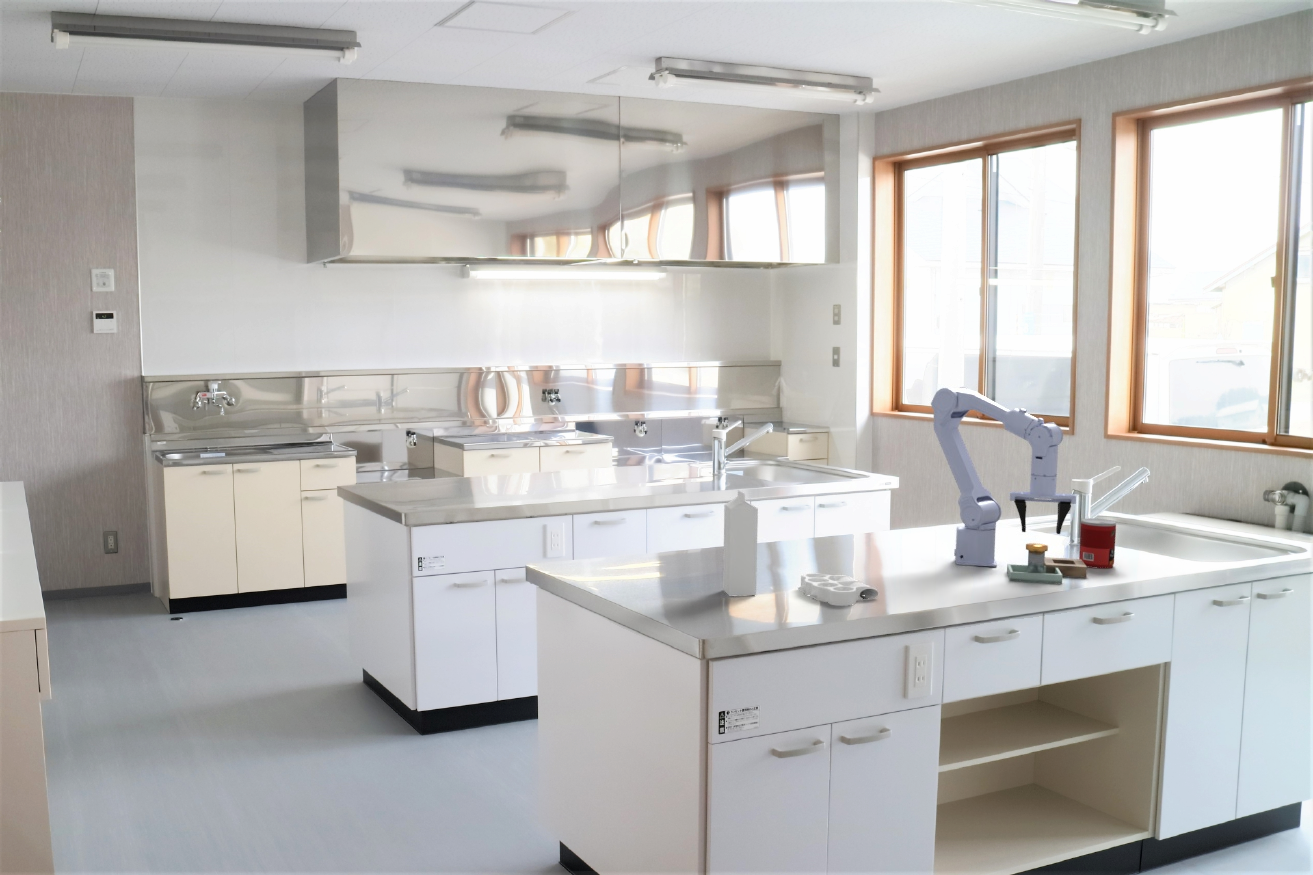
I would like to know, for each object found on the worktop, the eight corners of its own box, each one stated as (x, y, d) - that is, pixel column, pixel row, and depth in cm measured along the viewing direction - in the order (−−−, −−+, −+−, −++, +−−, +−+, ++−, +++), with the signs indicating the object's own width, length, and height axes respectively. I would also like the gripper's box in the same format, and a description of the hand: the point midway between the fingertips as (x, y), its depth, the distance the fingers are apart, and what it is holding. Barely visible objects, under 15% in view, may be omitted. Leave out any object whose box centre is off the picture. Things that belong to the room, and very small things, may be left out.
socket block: (1045, 575, 254) (1046, 564, 253) (1041, 567, 262) (1041, 557, 262) (1086, 577, 252) (1086, 566, 251) (1080, 569, 260) (1081, 559, 260)
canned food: (1116, 569, 261) (1119, 524, 260) (1081, 567, 263) (1084, 522, 261) (1110, 562, 268) (1112, 519, 267) (1076, 561, 270) (1078, 517, 269)
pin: (1024, 576, 249) (1025, 546, 249) (1024, 572, 254) (1025, 542, 253) (1046, 577, 248) (1048, 547, 247) (1046, 573, 252) (1047, 544, 252)
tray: (1010, 580, 247) (1010, 572, 247) (1006, 572, 256) (1007, 563, 256) (1062, 583, 245) (1062, 575, 244) (1056, 575, 254) (1057, 566, 253)
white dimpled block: (885, 604, 226) (822, 609, 221) (845, 585, 243) (785, 589, 238) (886, 589, 225) (822, 593, 221) (845, 570, 242) (785, 574, 238)
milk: (749, 589, 236) (752, 489, 234) (756, 596, 230) (759, 493, 228) (722, 590, 235) (724, 489, 233) (728, 596, 229) (730, 493, 227)
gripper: (1012, 475, 251) (1009, 533, 252) (1078, 478, 247) (1075, 537, 248) (1010, 472, 258) (1007, 528, 259) (1075, 474, 254) (1072, 531, 255)
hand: (1040, 532), depth 254 cm, fingers open, 7 cm apart
